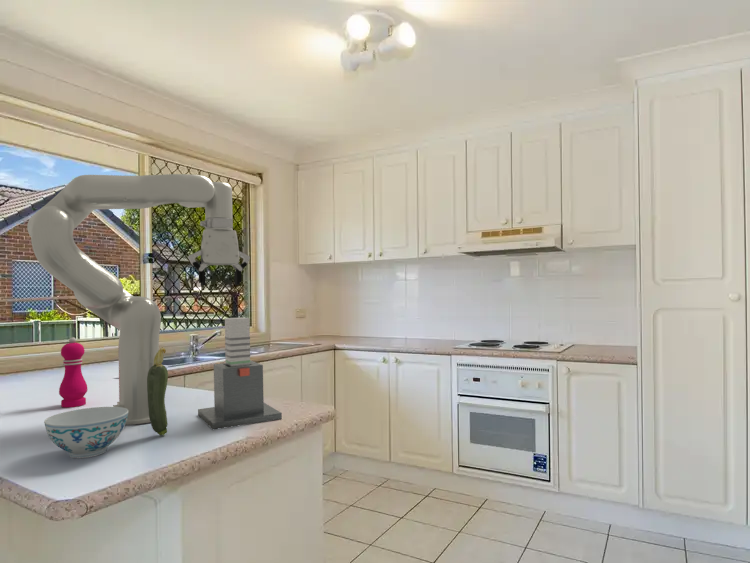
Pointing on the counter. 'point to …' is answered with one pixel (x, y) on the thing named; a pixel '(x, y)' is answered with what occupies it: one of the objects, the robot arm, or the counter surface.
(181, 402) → the counter surface
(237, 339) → the column
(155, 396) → the vegetable
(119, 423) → the chinaware
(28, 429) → the counter surface
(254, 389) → the stand base
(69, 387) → the pepper mill
